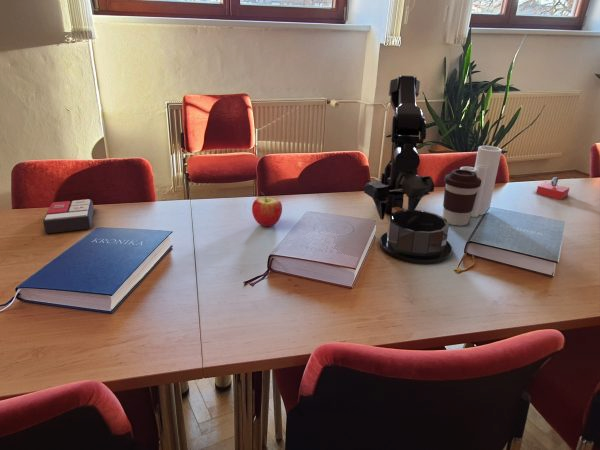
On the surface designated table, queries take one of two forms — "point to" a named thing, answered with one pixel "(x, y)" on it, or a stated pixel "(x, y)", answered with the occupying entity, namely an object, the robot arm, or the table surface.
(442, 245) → the bowl
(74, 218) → the grey labelled box
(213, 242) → the table surface
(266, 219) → the apple
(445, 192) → the coffee cup
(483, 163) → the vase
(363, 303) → the table surface
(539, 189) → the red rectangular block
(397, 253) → the turntable
